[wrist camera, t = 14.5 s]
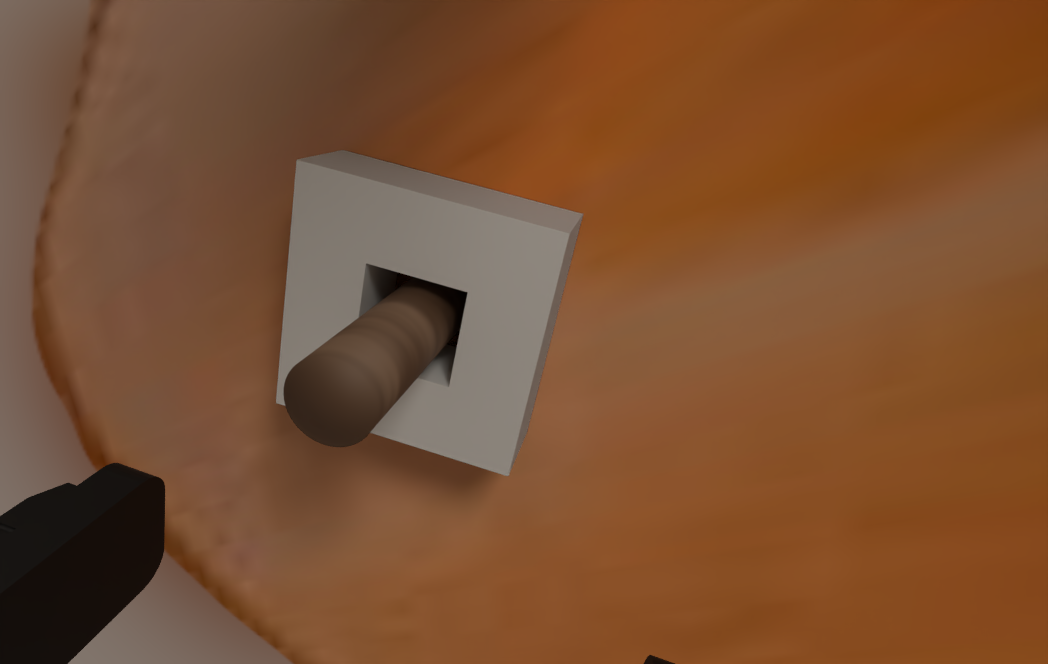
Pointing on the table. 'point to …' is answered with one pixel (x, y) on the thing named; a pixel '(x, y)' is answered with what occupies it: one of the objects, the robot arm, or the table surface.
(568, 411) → the table surface
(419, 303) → the walnut peg
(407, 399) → the block
